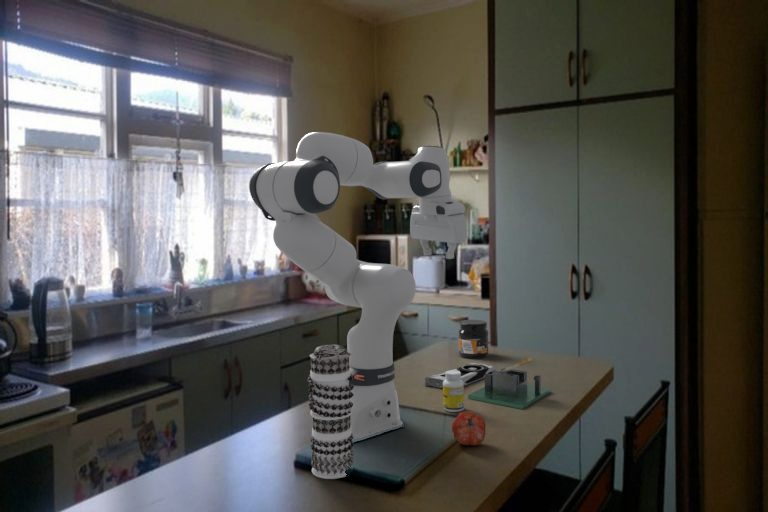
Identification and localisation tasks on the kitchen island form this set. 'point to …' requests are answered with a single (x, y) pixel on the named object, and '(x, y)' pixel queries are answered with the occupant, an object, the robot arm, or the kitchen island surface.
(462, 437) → the pomegranate
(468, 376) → the graphics card
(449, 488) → the kitchen island surface
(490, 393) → the circuit board
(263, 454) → the kitchen island surface
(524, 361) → the white strip
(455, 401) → the supplement bottle
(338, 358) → the decorative candle
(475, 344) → the supplement container
